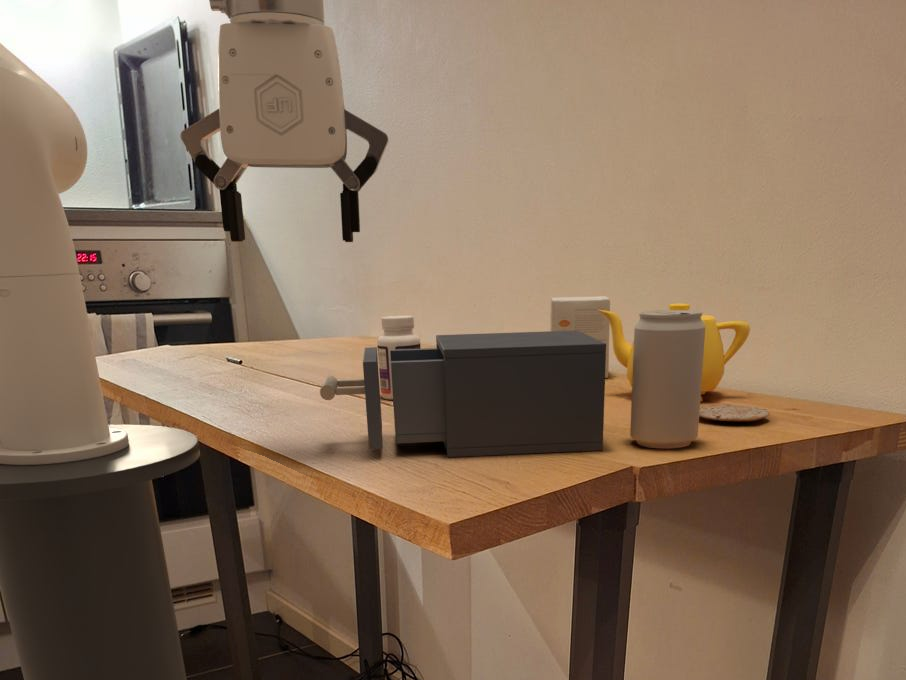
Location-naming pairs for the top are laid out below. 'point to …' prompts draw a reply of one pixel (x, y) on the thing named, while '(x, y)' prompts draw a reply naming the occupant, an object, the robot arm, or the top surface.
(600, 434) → the cabinet
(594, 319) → the small box
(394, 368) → the drawer
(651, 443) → the beverage can
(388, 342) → the pill bottle
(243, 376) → the top surface
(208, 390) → the top surface
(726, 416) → the flatbread
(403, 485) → the top surface
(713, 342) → the teapot
